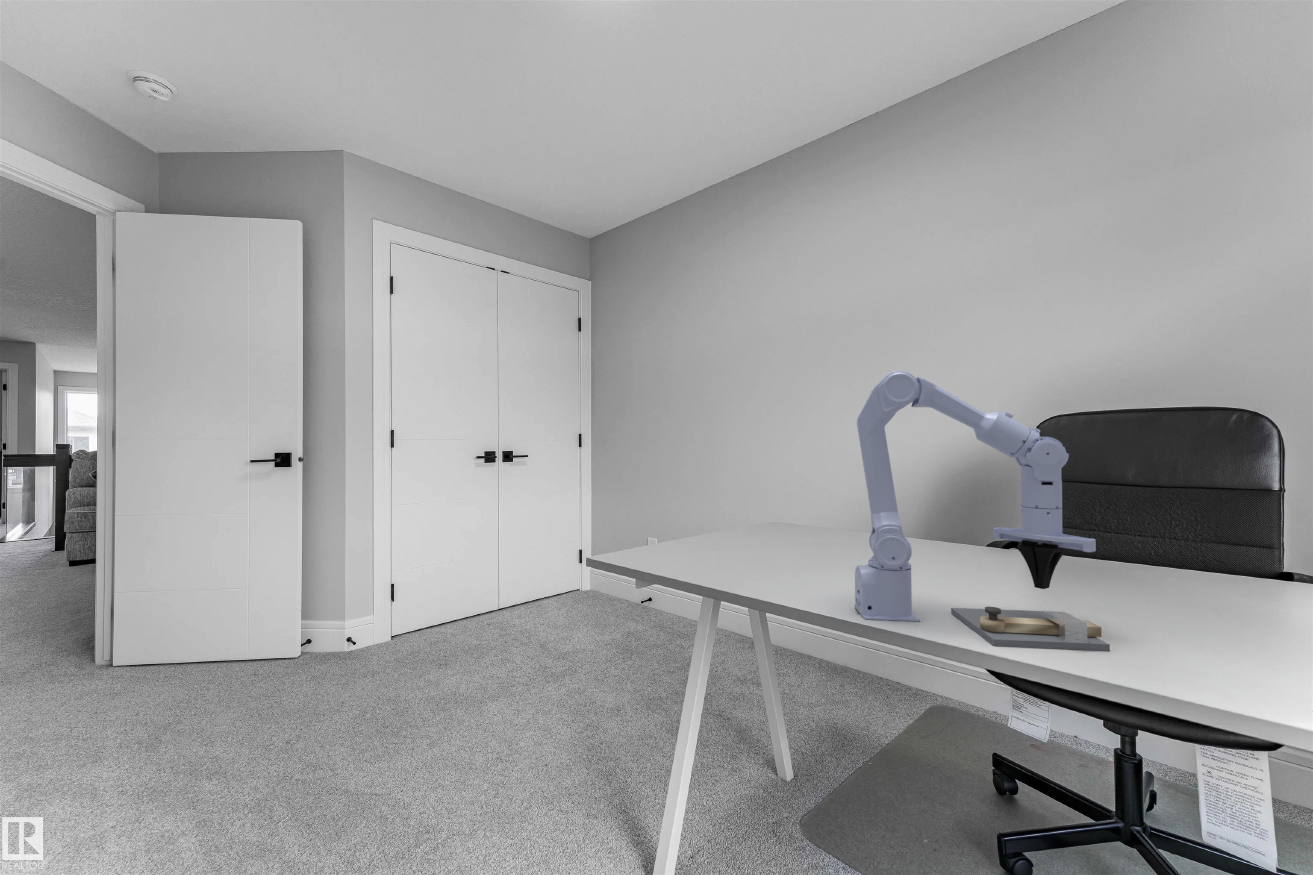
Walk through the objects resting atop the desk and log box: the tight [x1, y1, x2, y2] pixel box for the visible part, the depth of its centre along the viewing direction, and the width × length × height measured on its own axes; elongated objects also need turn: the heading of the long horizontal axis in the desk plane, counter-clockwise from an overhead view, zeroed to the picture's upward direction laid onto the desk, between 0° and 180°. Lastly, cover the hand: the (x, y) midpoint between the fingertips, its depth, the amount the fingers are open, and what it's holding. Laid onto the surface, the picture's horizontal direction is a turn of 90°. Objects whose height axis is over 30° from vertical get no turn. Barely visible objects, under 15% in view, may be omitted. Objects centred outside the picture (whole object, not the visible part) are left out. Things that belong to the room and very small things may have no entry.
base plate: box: [950, 607, 1111, 652], centre depth 88 cm, size 16×16×1 cm
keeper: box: [1043, 610, 1087, 643], centre depth 82 cm, size 3×6×3 cm, turn 172°
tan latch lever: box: [980, 606, 1102, 638], centre depth 84 cm, size 16×4×3 cm, turn 80°
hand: (1041, 587), depth 90 cm, fingers closed
